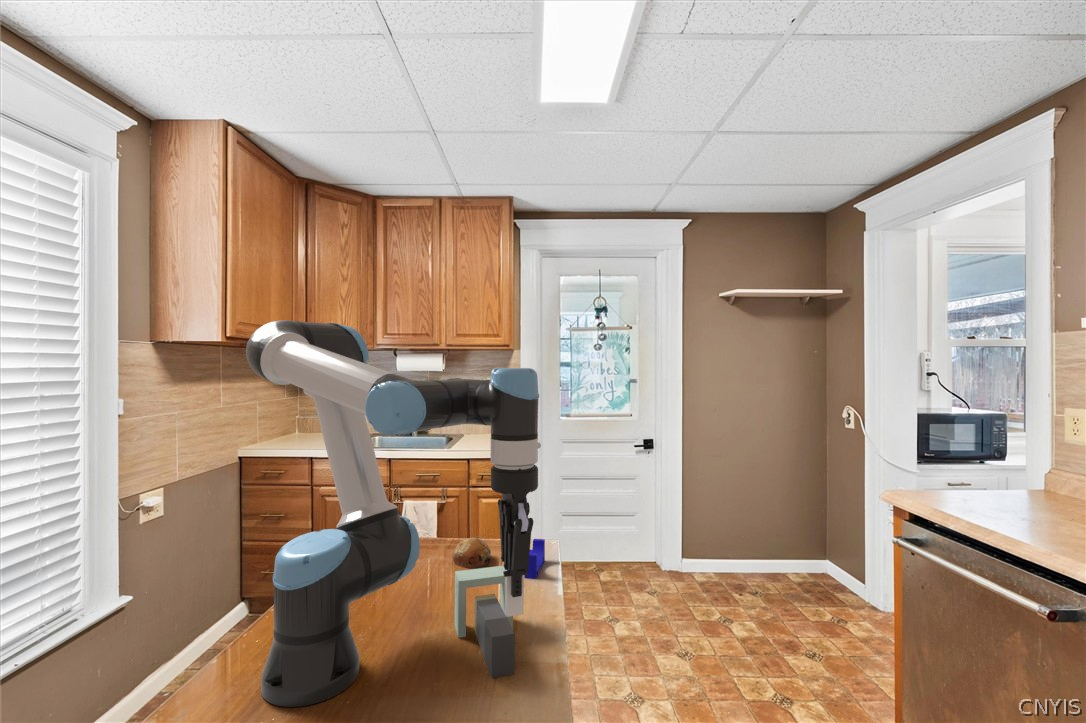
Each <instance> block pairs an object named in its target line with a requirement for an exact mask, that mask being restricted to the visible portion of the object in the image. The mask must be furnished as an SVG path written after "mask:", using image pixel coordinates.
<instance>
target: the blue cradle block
mask: <svg viewBox="0 0 1086 723" xmlns="http://www.w3.org/2000/svg"><path fill="white" fill-rule="evenodd" d="M545 542H546V540H545V539H541V538H533V540H532V549H530V555H529V568H528V575H524V579H530V580H531V579H532V580H536V579H537V578H538V576H539V575H540V572H541V569H542V568H543V565H544V563H545V560H546V557H545V556H546V555H545V554H546V552H545V550H546V549H545V546H546V543H545Z"/></svg>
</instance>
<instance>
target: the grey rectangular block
mask: <svg viewBox="0 0 1086 723" xmlns="http://www.w3.org/2000/svg"><path fill="white" fill-rule="evenodd" d="M474 633H475V637H476V639H477V641H478V645H479V647H480V650H481V653H482V655H483V659H484V661H485V663H486V664H485V665H486V667H487V669H488V672H489V675H490V678H491V679H497V678H501V677H502V678H503V677H507V676H508V677H509V676H513V675H515V672H516V671H515V668H516V667H515V666H516V665H515V658H516V657H515V656H516V655H515V654H516V644H515V643H516V642H515V641H516V633H515V631H514V628H513V629H512V627H511V625H510V623H509V621H508V619H507V617H506V615H505V613H504V611H503V609H502V607H501V605H500V600H499V599H498V598H497V596H496V594H495V593H490V594H483V595H474Z"/></svg>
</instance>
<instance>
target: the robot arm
mask: <svg viewBox="0 0 1086 723" xmlns="http://www.w3.org/2000/svg"><path fill="white" fill-rule="evenodd" d="M245 355H246V361H247V363H248V365H249V367H250V369H251V371H253V373H255V374H256V375H257V376H259V377H260V378H262V379H264V380H266V381H269V382H271V383H273V384H276V385H279V386H287V385H292V386H295V387H298V388H300V389H302V391H303V394H305V395H306V396H308V397H311V398H312V399H313V401H314V405H315V409H316V413H317V416H318V417H317V418H318V421H319V425H320V429H321V434H322V437H323V441H324V442H323V443H324V447H325V450H326V454H327V458H328V461H329V462H328V463H329V467H330V471H331V474H332V478H333V483H334V487H335V491H336V495H337V498H338V502H339V507H340V511H341V514H342V515H341V517H340V519H339V521H338V522H337V524H336V528H327V529H325V528H324V529H321V530H318V531H316V530H315V531H310V532H307V533H304V534H300V535H299V536H296V537H295V538H292V539H291V540H290V541H288V542H286V543H285V544H284V545H282V547H280V548H279V550H278V552H277V554H276V556H275V559H274V569H273V574H272V583H273V638H272V639H273V640H272V644H271V647H270V649H269V652H268V655H267V658H266V661H265V663H264V666H263V669H262V673H261V678H260V694H261V696H262V697H263V699H264V700H265V701H266V702H267V703H270V704H271V705H274V706H276V707H277V706H278V707H283V708H284V707H285V708H297V707H305V706H311V705H314V704H315V705H316V704H317V703H320V702H323V701H327V700H329V699H331V698H333V697H335V696H337V695H339V694H341V693H342V692H344V691H345V690H347V689H348V688H349V687H350V686H351V685H352V684H353V683H354V682H355V680H356V679H357V678H358V676H359V672H360V653H359V650H358V647H357V644H356V641H355V639H354V636H353V633H352V629H351V628H350V616H349V615H350V604H351V603H353V602H355V601H357V600H358V599H361V598H363V597H366V596H367V595H369V594H373V593H374V592H375V591H377V590H380V589H382V588H385V587H387V586H390V585H393V584H396V583H398V581H399V580H401V579H402V578H404V577H406V576H408V575H409V574H410V573H411V572H412V571H413V569H414V568H415V567H416V563H417V561H418V559H419V556H420V550H421V544H420V542H421V541H420V535H419V532H418V530H417V526H416V525H415V524H414V522H411V519H409V518H408V517H406V516H402V515H400V512H399V508H398V506H397V505H396V504H394V503H392V502H390V501H389V500H388V498H387V495H386V490H385V488H384V487H385V486H384V483H383V479H382V475H381V470H380V468H379V464H378V461H377V457H376V453H375V448H374V446H373V441H372V437H371V435H370V431H369V427H368V426H369V425H368V424H370V425H371V426H372V428H373V430H374V431H375V432H377V433H378V434H382V435H388V436H389V435H400V436H402V435H407V434H410V433H415V432H421V431H427V430H432V429H439V428H447V427H455V426H460V425H461V426H462V425H479V426H480V425H481V426H490V463H491V464H492V466H491V467H490V488H491V491H493V492H496V493H498V494H502V497H501V498H502V499H498V500H497V505H498V506H497V507H498V513H499V514H498V515H499V517H498V518H499V530H500V531H499V533H500V534H499V536H500V552H501V553H500V555H501V557H500V559H501V562H502V563H503V566H504V568H505V570H507V571H503V574H504V577H505V614H506V616H507V617H509V616H513V617H514V616H521V615H524V612H525V611H524V610H525V609H524V604H525V603H524V602H525V600H524V597H525V596H524V592H525V590H524V587H525V584H524V583H525V578H524V575H528V568H529V555H530V550H531V540H532V539H531V538H532V531H533V527H534V519H533V517H529V515H530V511H531V510H530V507H531V506H530V503H529V502H528V497H527V495H528V494H529V493H533V492H535V491H536V490H537V489H538V486H539V467H538V466H537V465H536V464H537V463H538V460H539V450H538V449H540V448H541V447H542V444H541V442H539V438H538V437H539V434H538V433H539V432H538V428H539V427H538V426H539V425H538V424H539V423H538V422H539V421H538V420H539V398H540V394H539V382H538V381H539V379H538V372H537V371H536V370H535V369H533V368H531V367H530V368H528V367H495V368H493V369H492V370H491V374H490V379H474V378H473V379H471V378H460V377H456V378H455V377H454V378H450V377H449V378H446V379H445V378H443V379H439V380H438V379H437V380H415V379H414V380H413V379H411V378H407V377H405V376H402V375H399V374H396V373H394V372H390V371H388V370H384V369H382V368H379V367H377V366H373V365H371V364H368V362H367V361H368V360H369V349H368V346H367V343H366V341H365V339H364V338H363V336H362V334H361V333H360V332H359V331H357V329H355V328H353V327H352V326H349V325H344V324H339V323H337V322H326V323H325V322H324V323H323V322H313V321H312V322H310V321H301V320H300V321H299V320H298V321H297V320H292V319H291V320H289V319H283V320H282V319H281V320H276V321H275V320H274V321H271V322H268V323H265V324H263V325H262V326H260V327H258V328H257V329H256V330H255V331H254V332H253V333H252V334H251V336H250V338H249V339H248V341H247V343H246V347H245ZM366 419H367V420H366ZM367 422H368V423H367Z"/></svg>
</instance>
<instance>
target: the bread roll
mask: <svg viewBox="0 0 1086 723" xmlns="http://www.w3.org/2000/svg"><path fill="white" fill-rule="evenodd" d="M491 553H492V551H491V549H490V547H489V546H488V544H487V543H486V542H485V541H484V540H483V539H481V538H478V537H469V538H468V537H467V538H466V539H464V540H461V541H460V542H458V543H457V544H456V545H455V548H454V550H453V552H452V561H453V563H454V565H455V566H457V567H461V568H465V569H479V568H483V567H484V566H487V565H488V564H489V562H490V561H491V558H492V555H491Z"/></svg>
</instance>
